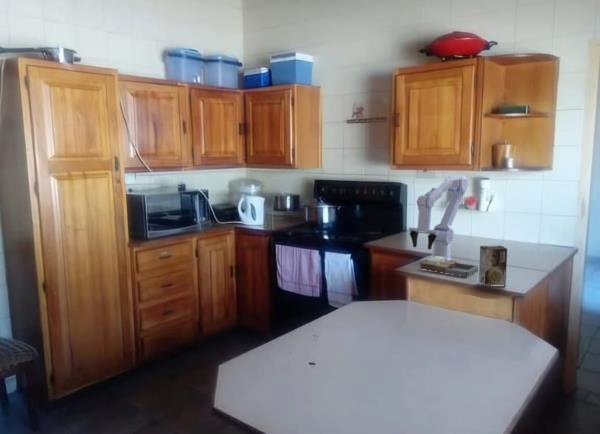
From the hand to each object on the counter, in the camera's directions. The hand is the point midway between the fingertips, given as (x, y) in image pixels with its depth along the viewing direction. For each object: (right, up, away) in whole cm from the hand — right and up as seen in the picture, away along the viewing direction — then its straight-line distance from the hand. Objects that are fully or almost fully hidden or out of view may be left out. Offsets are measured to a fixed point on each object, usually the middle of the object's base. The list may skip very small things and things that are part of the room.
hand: (422, 248), depth 231 cm
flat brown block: (+6, -10, -6) cm, 13 cm away
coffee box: (+21, -14, -32) cm, 40 cm away
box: (+15, -10, -13) cm, 22 cm away
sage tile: (+3, -7, -8) cm, 11 cm away
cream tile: (+7, -6, -4) cm, 10 cm away
